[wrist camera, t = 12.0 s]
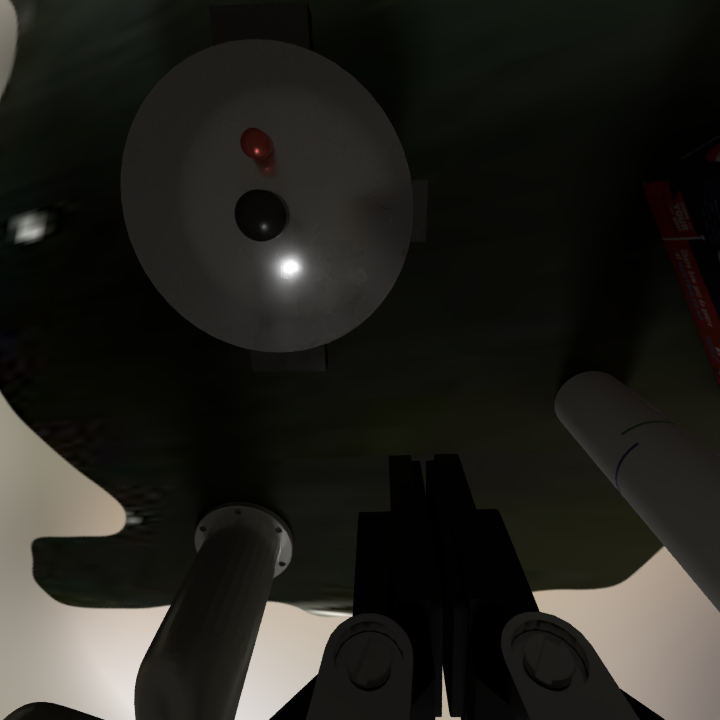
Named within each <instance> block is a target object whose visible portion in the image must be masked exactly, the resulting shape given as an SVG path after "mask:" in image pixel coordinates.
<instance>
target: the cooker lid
mask: <svg viewBox="0 0 720 720" xmlns="http://www.w3.org/2000/svg"><path fill="white" fill-rule="evenodd" d="M121 201H122V207H123V214H124V220H125V223H126V227H127V231H128V235H129V238H130V241H131V243H132V246H133V248H134V251H135V253H136V256H137V258H138V260H139V261H140V263H141V265H142V267H143V269H144V271H145V273H146V274H147V276H148V277H149V279H150V280H151V282H152V283H153V285H154V286H155V288H156V289H157V290H158V291H159V293H160V294H161V295H162V296H163V297H164V298H165V300H166V301H167V302H168V303H169V304H170V305H171V306H172V307H173V308H174V309H175V310H176V311H177V312H178V313H180V314H181V315H182V316H183V317H184V318H185V319H187V320H188V321H190V322H191V323H192V324H194V325H195V326H196V327H198V328H199V329H201V330H203V331H204V332H206V333H208V334H210V335H211V336H213V337H215V338H218V339H220V340H222V341H225V342H227V343H229V344H232V345H236V346H239V347H242V348H246V349H251V350H257V351H262V352H279V353H280V352H294V351H301V350H306V349H311V348H315V347H318V346H321V345H323V344H326V343H329V342H331V341H333V340H335V339H337V338H339V337H341V336H344V335H345V334H347V333H348V332H350V331H351V330H353V329H354V328H356V327H357V326H359V325H360V324H361V323H362V322H363V321H364V320H365V319H367V318H368V317H369V316H370V315H371V314H372V313H373V312H374V311H375V310H376V308H377V307H378V306H379V305H380V304H381V303H382V302H383V300H384V299H385V297H386V296H387V294H388V293H389V291H390V290H391V289H392V287H393V285H394V283H395V281H396V279H397V277H398V275H399V273H400V271H401V269H402V266H403V263H404V261H405V258H406V255H407V252H408V248H409V243H410V238H411V234H412V224H413V213H414V211H413V190H412V184H411V178H410V171H409V168H408V164H407V161H406V157H405V154H404V150H403V148H402V146H401V143H400V141H399V139H398V136H397V134H396V132H395V129H394V128H393V126H392V124H391V123H390V121H389V119H388V118H387V116H386V114H385V112H384V111H383V109H382V108H381V107H380V105H379V104H378V103H377V102H376V100H375V99H374V98H373V97H372V95H371V94H370V93H369V92H368V91H367V90H366V89H365V88H364V87H363V86H362V85H361V84H360V83H359V82H358V81H357V80H356V79H355V78H354V77H353V76H352V75H350V74H349V73H348V72H346V71H345V70H344V69H342V68H341V67H340V66H338V65H337V64H336V63H334V62H332V61H331V60H329V59H327V58H325V57H323V56H321V55H320V54H318V53H316V52H313V51H311V50H308V49H305V48H303V47H300V46H297V45H295V44H290V43H285V42H280V41H275V40H263V39H246V40H237V41H229V42H226V43H222V44H219V45H215V46H211V47H208V48H206V49H204V50H202V51H200V52H198V53H196V54H194V55H191V56H190V57H188V58H187V59H185V60H184V61H182V62H181V63H179V64H178V65H176V66H175V67H173V68H172V69H171V70H170V71H169V72H168V73H167V74H166V75H165V76H164V77H163V78H162V79H161V80H160V81H159V82H158V83H157V84H156V85H155V86H154V88H153V89H152V90H151V92H150V93H149V94H148V95H147V97H146V98H145V100H144V101H143V103H142V105H141V107H140V109H139V110H138V112H137V114H136V116H135V118H134V120H133V123H132V126H131V128H130V131H129V133H128V136H127V140H126V144H125V149H124V153H123V158H122V168H121Z"/></svg>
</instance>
